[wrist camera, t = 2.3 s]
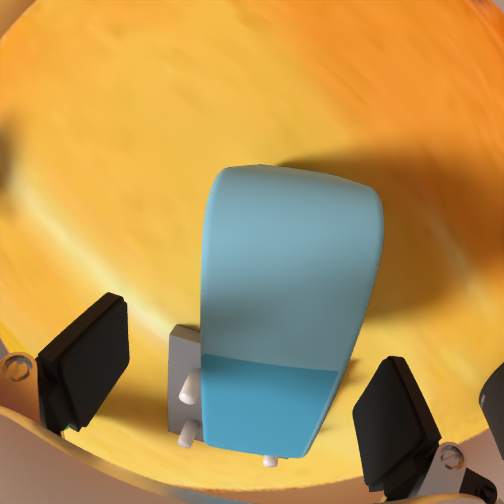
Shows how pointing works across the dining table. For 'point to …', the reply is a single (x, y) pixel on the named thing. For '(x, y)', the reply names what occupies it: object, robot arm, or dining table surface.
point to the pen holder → (494, 406)
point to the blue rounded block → (281, 302)
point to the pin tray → (188, 389)
